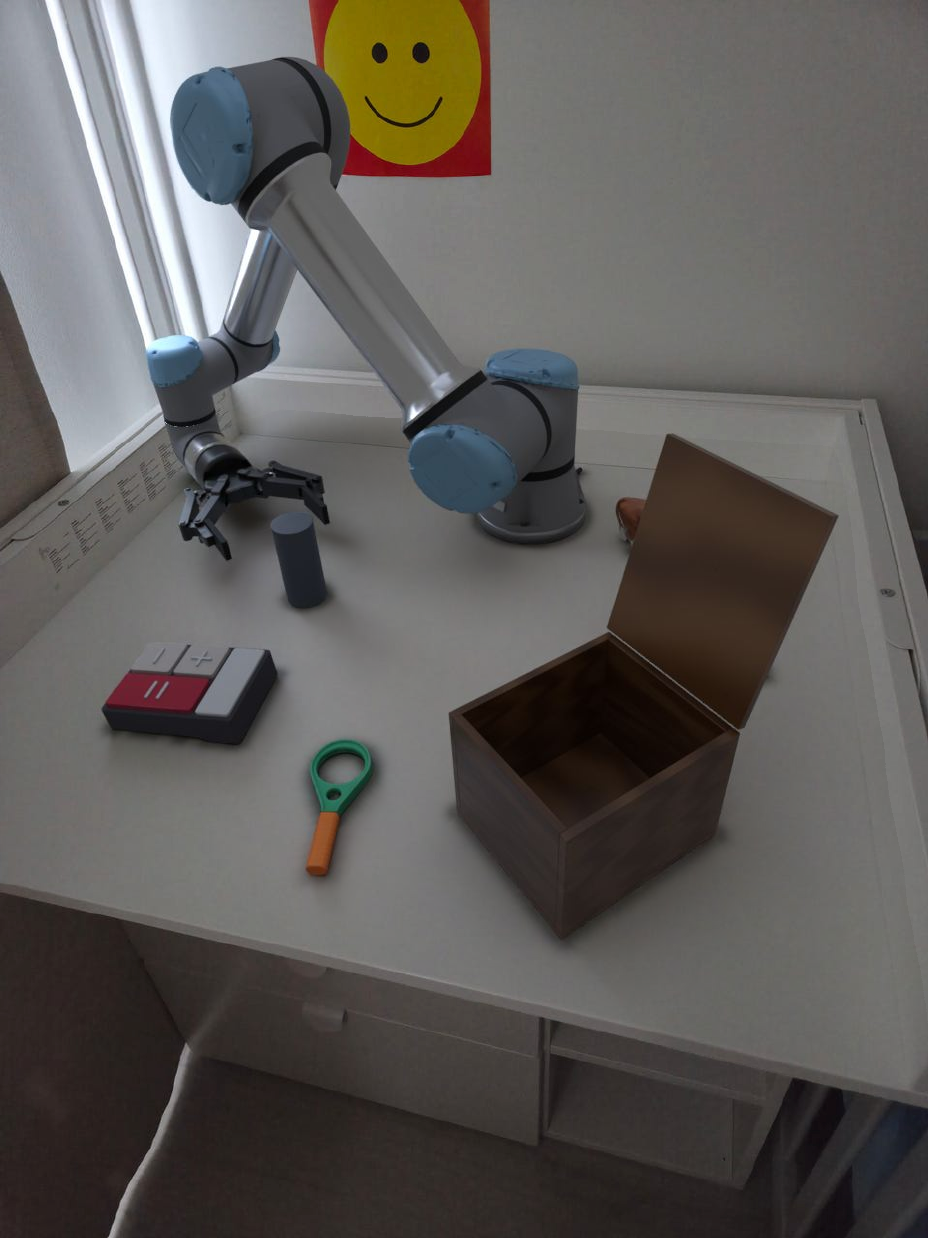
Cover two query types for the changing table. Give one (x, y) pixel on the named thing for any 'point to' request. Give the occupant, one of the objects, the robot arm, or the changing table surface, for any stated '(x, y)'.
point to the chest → (589, 777)
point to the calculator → (192, 691)
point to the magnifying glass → (333, 801)
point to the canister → (299, 559)
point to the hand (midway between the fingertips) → (277, 533)
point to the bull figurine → (629, 516)
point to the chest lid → (716, 575)
